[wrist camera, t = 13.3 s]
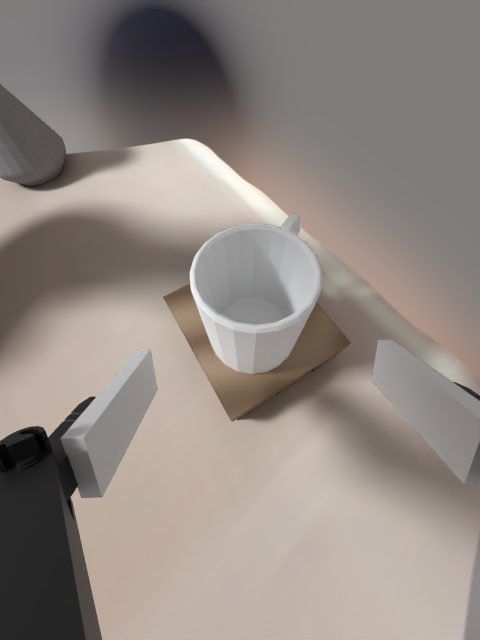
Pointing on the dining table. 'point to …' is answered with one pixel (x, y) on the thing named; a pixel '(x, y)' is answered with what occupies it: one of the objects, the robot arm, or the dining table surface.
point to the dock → (253, 389)
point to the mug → (255, 292)
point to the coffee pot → (27, 144)
